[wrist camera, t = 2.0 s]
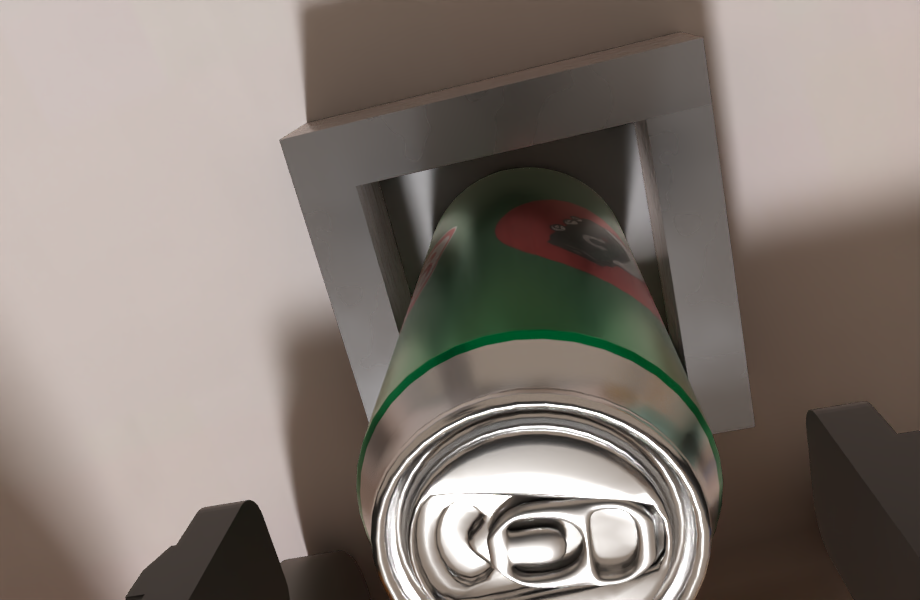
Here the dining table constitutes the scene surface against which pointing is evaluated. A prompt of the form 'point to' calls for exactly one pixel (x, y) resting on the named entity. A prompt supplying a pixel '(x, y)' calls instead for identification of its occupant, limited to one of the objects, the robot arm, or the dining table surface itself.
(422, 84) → the dining table surface
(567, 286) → the soda can
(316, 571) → the trolley
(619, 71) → the frame
